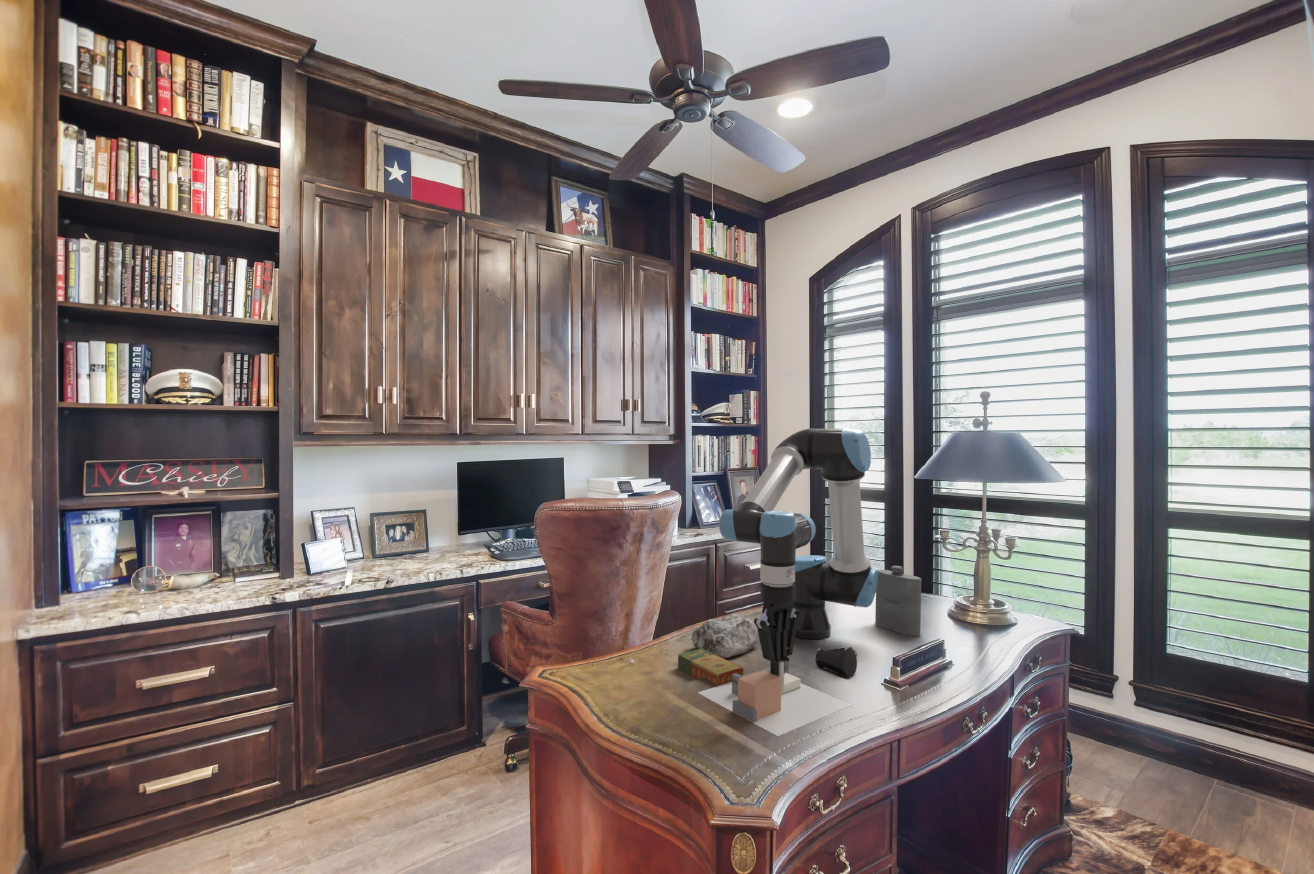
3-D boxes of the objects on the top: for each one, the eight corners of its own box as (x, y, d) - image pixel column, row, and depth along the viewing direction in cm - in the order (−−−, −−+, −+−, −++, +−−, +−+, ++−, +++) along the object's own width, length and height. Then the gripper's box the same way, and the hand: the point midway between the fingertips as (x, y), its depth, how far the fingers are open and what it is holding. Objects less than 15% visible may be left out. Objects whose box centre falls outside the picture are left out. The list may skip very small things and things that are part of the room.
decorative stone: (734, 629, 179) (736, 600, 177) (768, 651, 169) (771, 620, 167) (686, 652, 167) (688, 621, 165) (720, 677, 157) (723, 644, 155)
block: (737, 711, 126) (738, 678, 126) (763, 701, 130) (764, 670, 130) (754, 720, 122) (755, 686, 122) (780, 710, 126) (781, 677, 126)
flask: (870, 624, 192) (871, 563, 192) (881, 621, 195) (882, 561, 195) (912, 638, 179) (913, 572, 179) (923, 634, 183) (924, 570, 183)
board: (697, 697, 135) (697, 674, 135) (769, 674, 149) (769, 652, 149) (777, 742, 115) (778, 714, 115) (851, 710, 130) (852, 685, 130)
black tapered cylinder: (843, 680, 145) (813, 675, 151) (878, 672, 157) (849, 667, 164) (842, 648, 147) (812, 644, 153) (876, 642, 159) (847, 639, 165)
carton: (717, 692, 139) (717, 673, 139) (676, 669, 152) (677, 653, 152) (743, 684, 144) (743, 666, 144) (702, 662, 157) (702, 646, 157)
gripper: (771, 591, 122) (771, 704, 123) (810, 581, 130) (810, 688, 130) (745, 583, 128) (745, 691, 129) (783, 574, 136) (783, 676, 136)
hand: (777, 689), depth 129 cm, fingers closed
